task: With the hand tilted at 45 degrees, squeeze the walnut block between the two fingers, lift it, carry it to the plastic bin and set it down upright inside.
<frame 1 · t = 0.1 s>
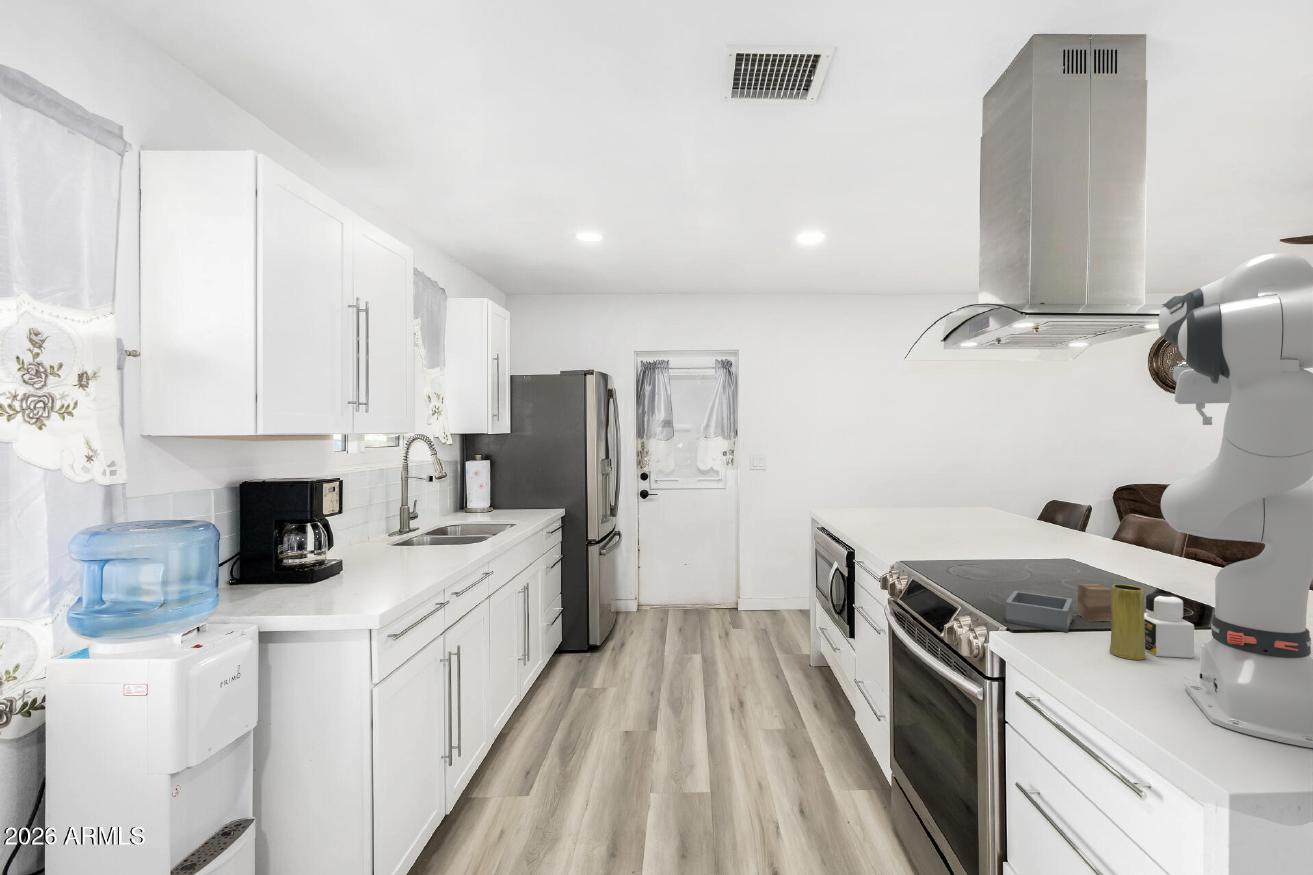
hand: (1237, 424, 127), 48 cm above the counter, tool pointing down, fingers open, 8 cm apart
block: (1094, 618, 150), on the counter
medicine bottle: (1164, 652, 128), on the counter
vase: (1127, 655, 127), on the counter
bin: (1039, 620, 149), on the counter
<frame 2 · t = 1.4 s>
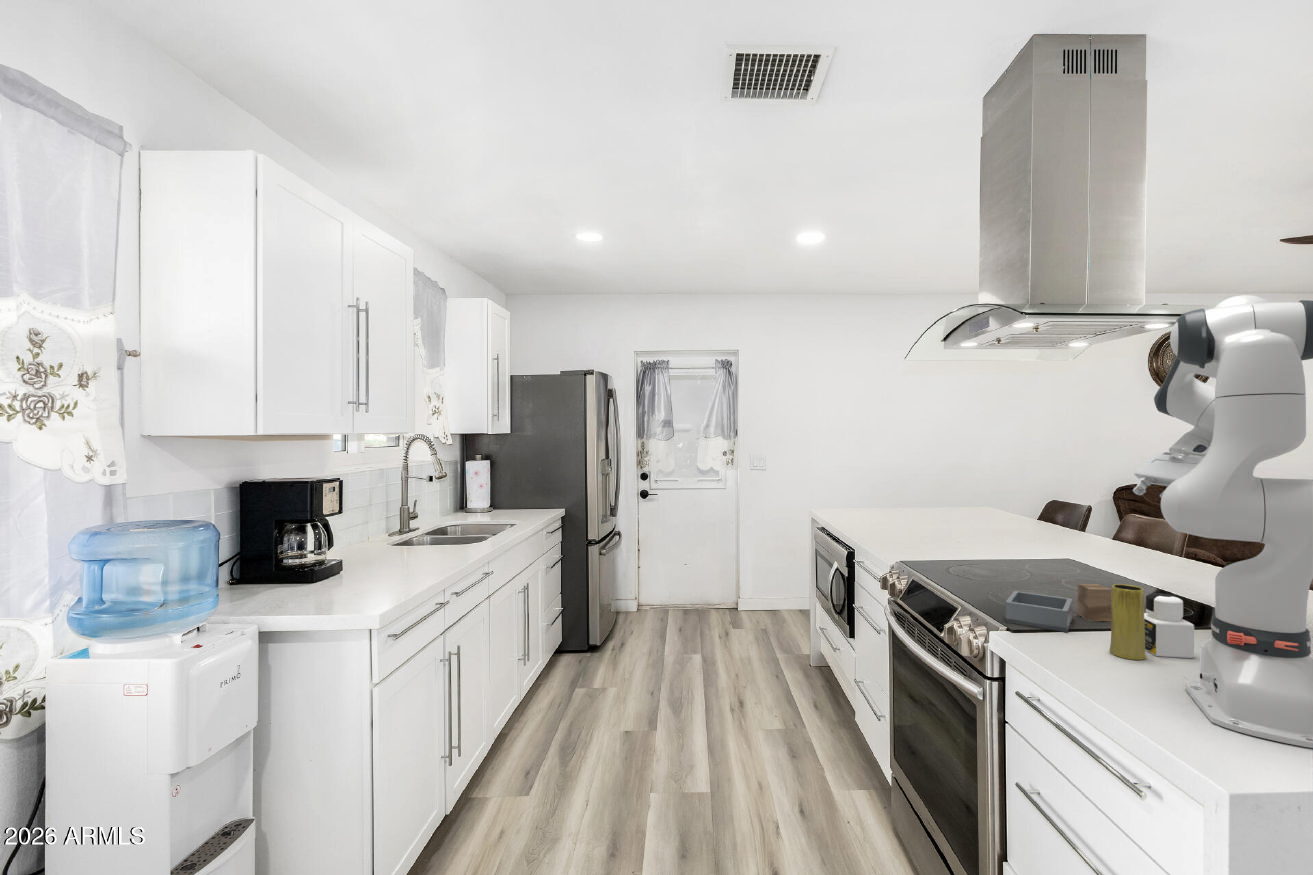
hand: (1149, 495, 148), 31 cm above the counter, tool tilted 45°, fingers open, 8 cm apart
nothing on the counter moved.
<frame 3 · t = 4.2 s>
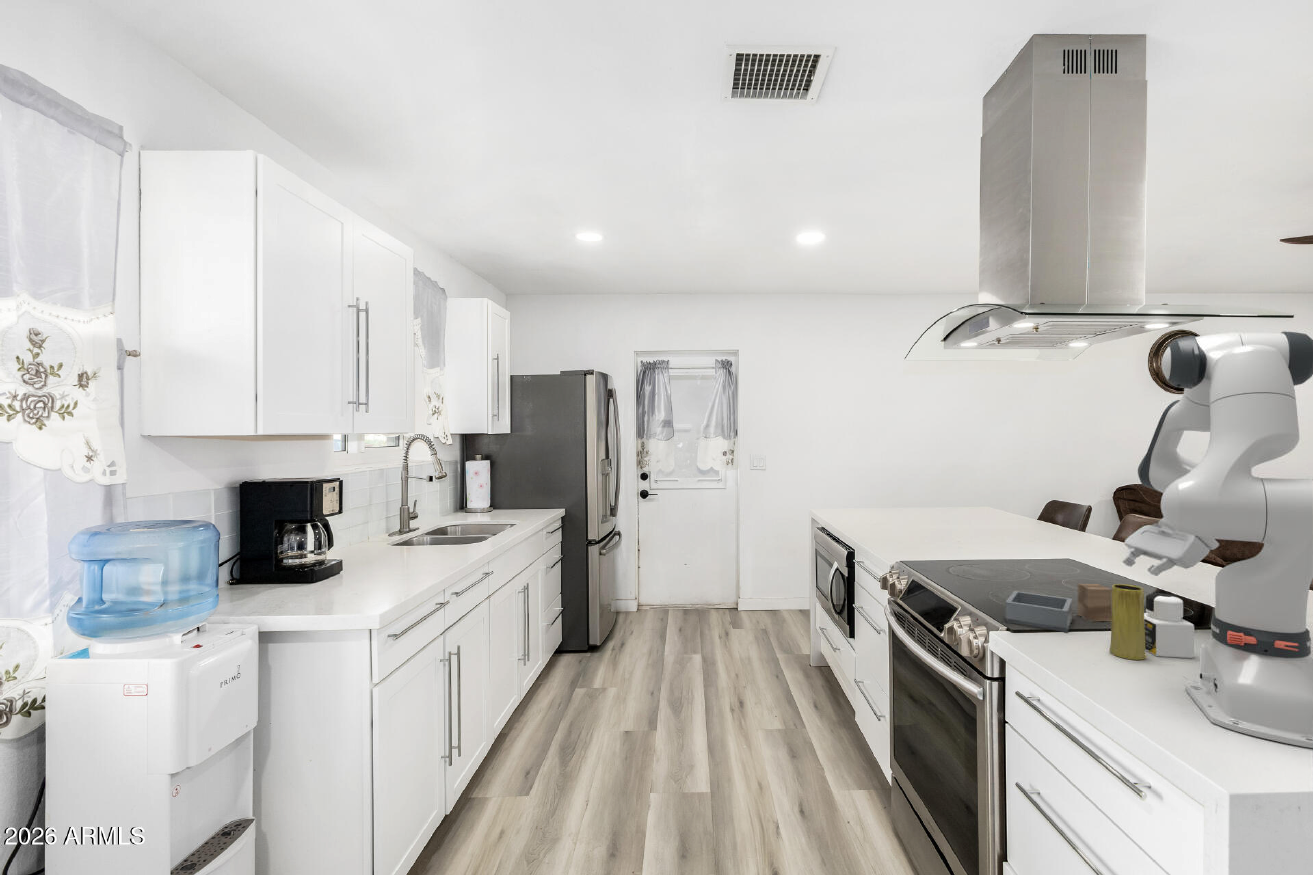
hand: (1138, 568, 149), 13 cm above the counter, tool tilted 45°, fingers open, 8 cm apart
nothing on the counter moved.
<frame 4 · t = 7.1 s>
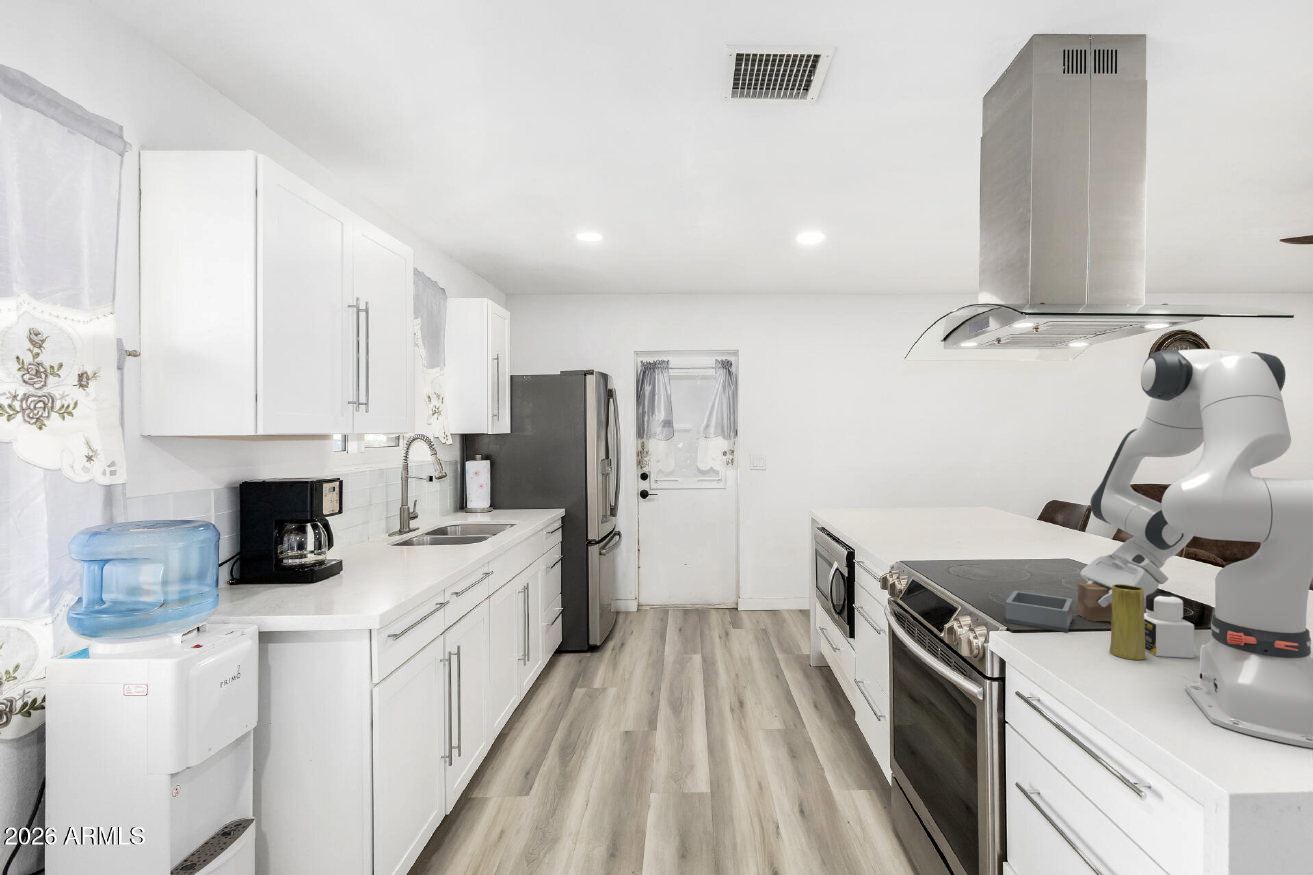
hand: (1091, 600, 150), 4 cm above the counter, tool tilted 45°, fingers closed on block, 5 cm apart
block: (1094, 618, 150), on the counter, touching gripper
everything else where it was.
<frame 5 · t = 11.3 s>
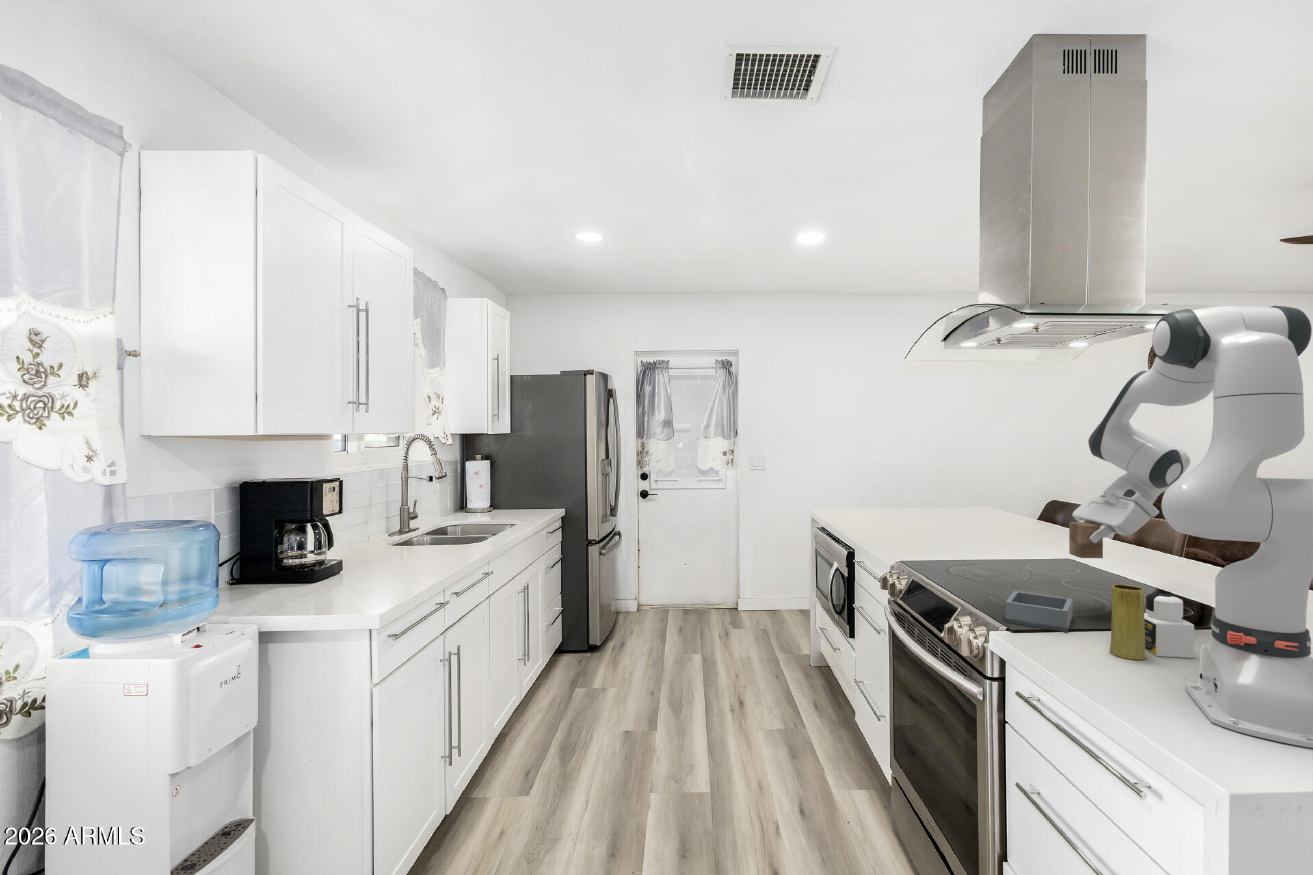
hand: (1082, 538, 150), 20 cm above the counter, tool tilted 45°, fingers closed on block, 5 cm apart
block: (1085, 555, 150), point 16 cm above the counter, touching gripper
everything else where it was.
when the fingers open (7 cm above the counter, at t = 15.9 s): block drops 1 cm, resting on bin.
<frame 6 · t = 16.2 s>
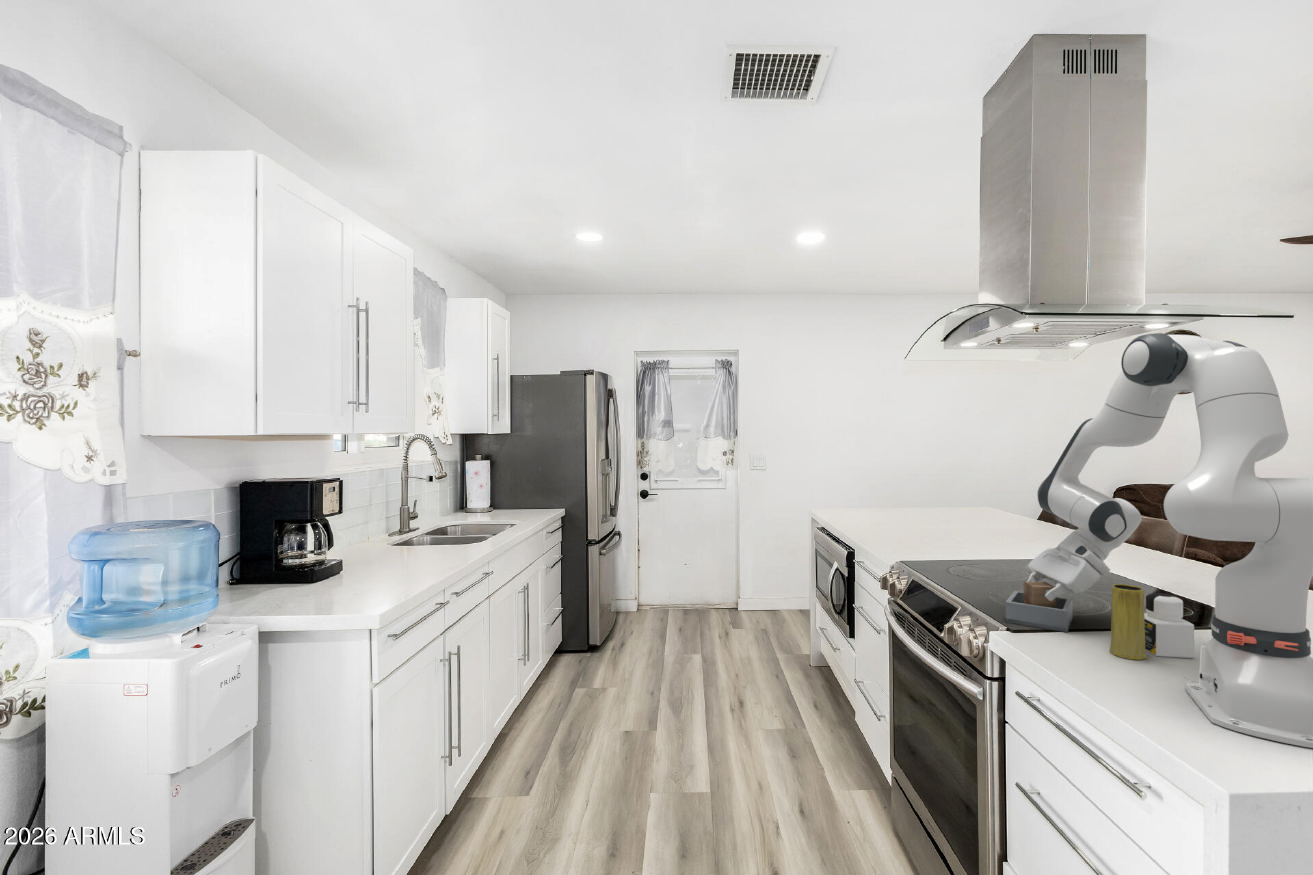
hand: (1036, 592, 149), 7 cm above the counter, tool tilted 45°, fingers open, 8 cm apart
block: (1039, 616, 149), point 1 cm above the counter, touching bin
everything else where it was.
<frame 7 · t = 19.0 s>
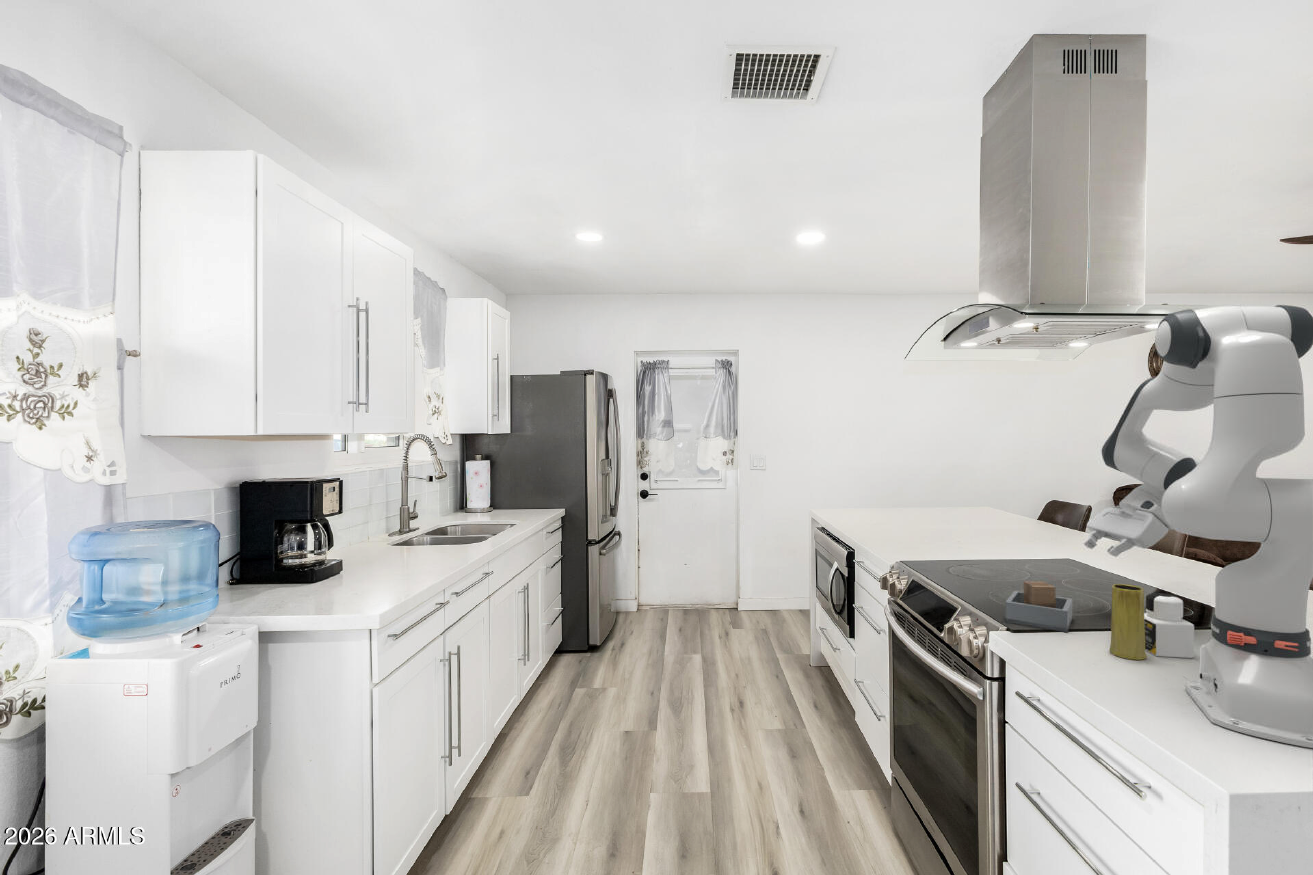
hand: (1098, 550, 147), 18 cm above the counter, tool tilted 45°, fingers open, 8 cm apart
nothing on the counter moved.
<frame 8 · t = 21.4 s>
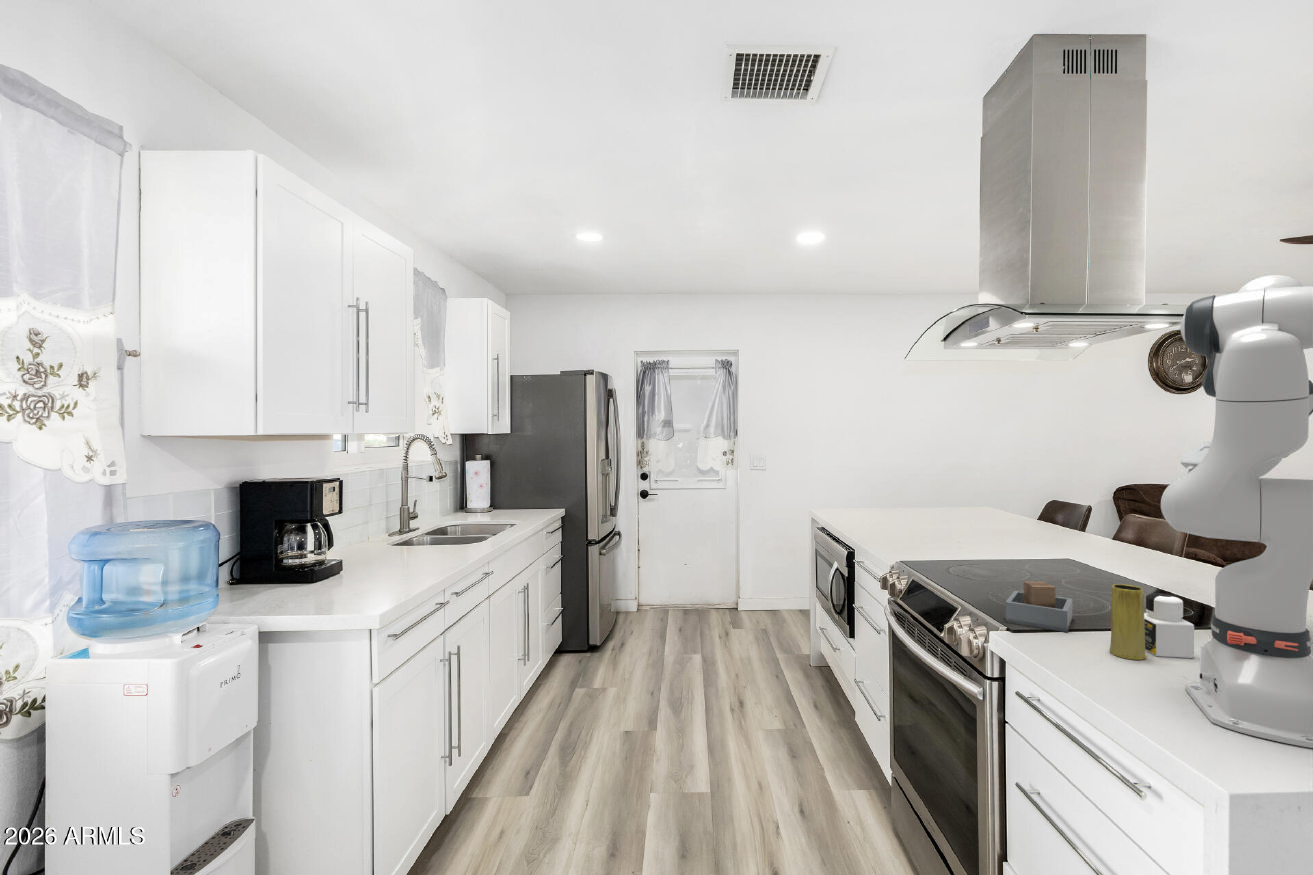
hand: (1199, 484, 137), 34 cm above the counter, tool tilted 45°, fingers open, 8 cm apart
nothing on the counter moved.
at the end: block inside the target area on the bin (0.1 cm from its centre), point 1.0 cm above the bin's base; block tilted 0°; the gripper is holding nothing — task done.
